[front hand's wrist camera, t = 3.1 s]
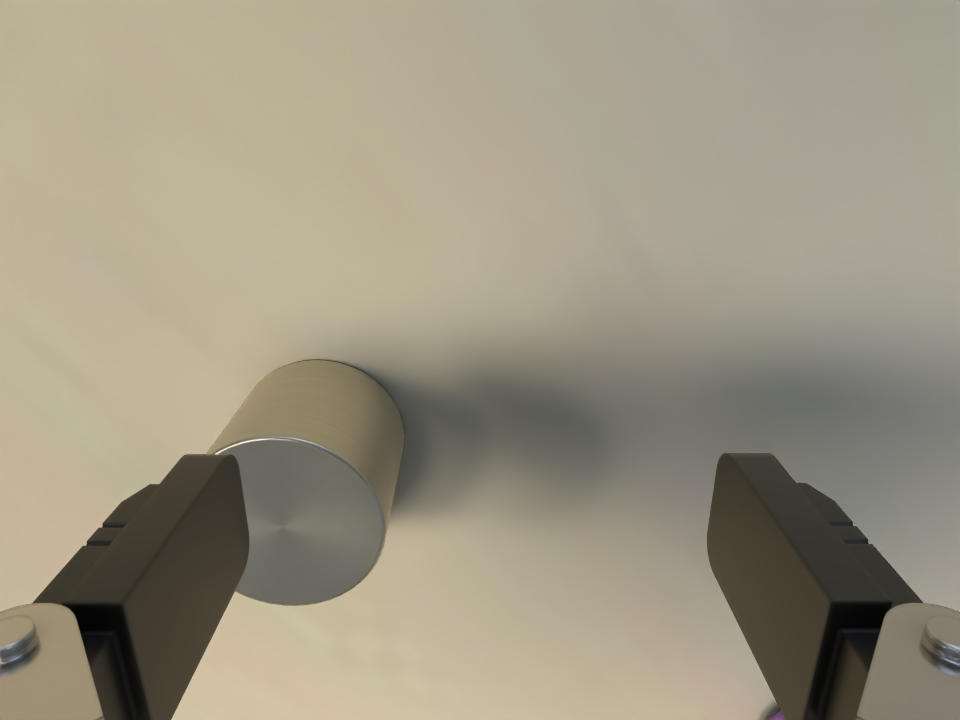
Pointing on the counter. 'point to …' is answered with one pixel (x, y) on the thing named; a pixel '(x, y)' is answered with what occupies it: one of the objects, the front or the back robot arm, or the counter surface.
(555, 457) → the counter surface
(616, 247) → the counter surface
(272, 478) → the can
